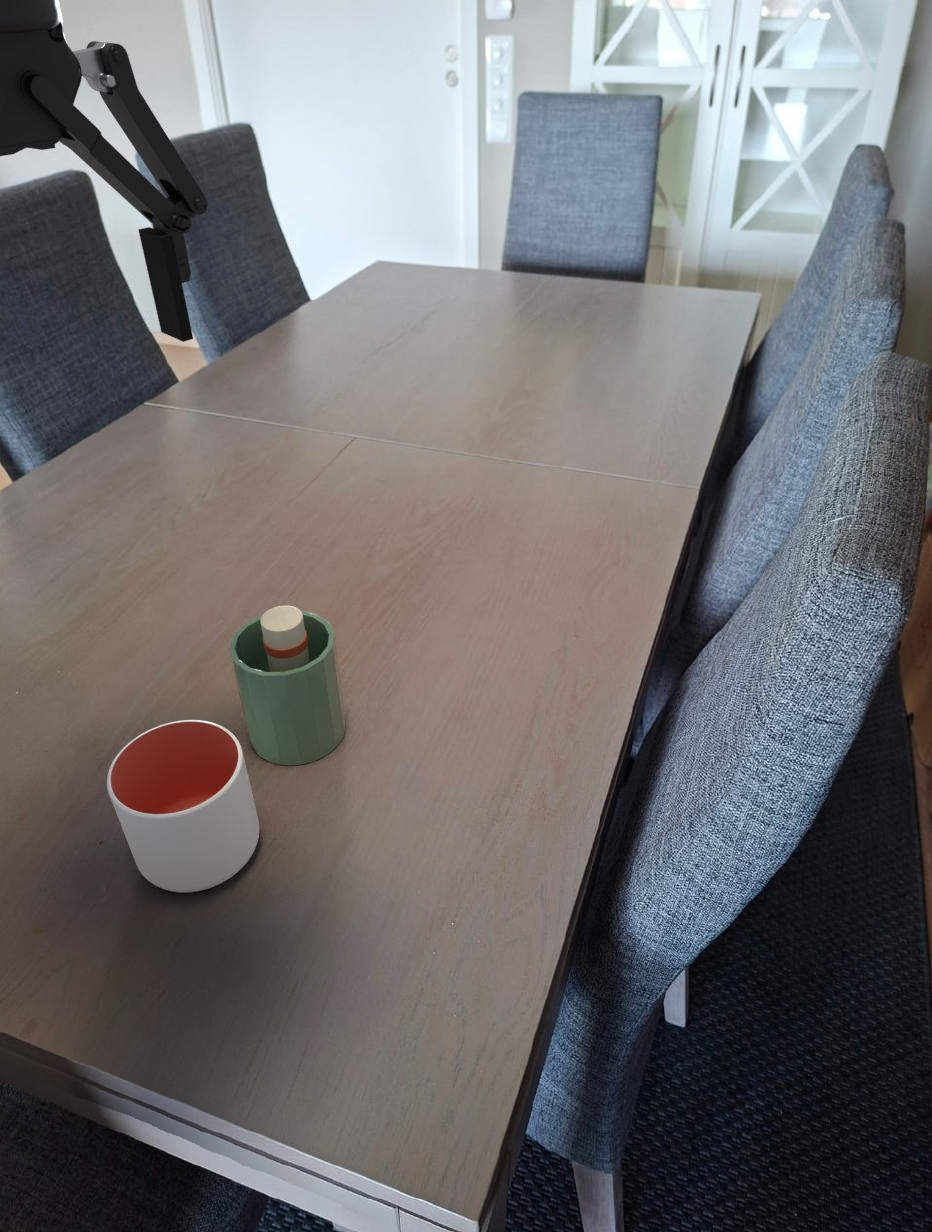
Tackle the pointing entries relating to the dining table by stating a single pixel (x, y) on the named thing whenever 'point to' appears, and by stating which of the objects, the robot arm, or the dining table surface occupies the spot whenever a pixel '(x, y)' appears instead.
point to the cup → (185, 804)
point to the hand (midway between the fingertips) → (81, 365)
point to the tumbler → (290, 695)
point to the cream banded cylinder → (284, 638)
